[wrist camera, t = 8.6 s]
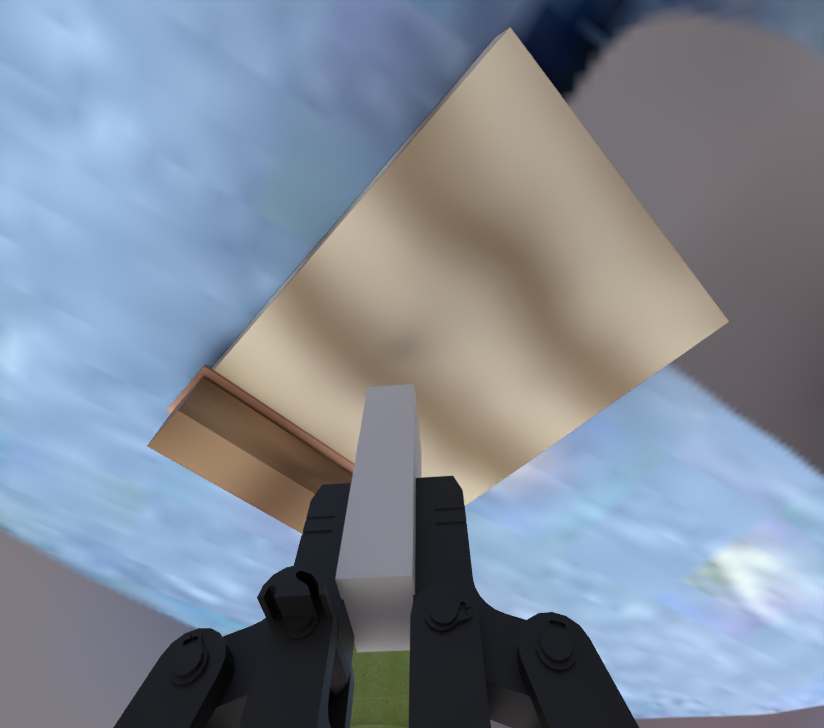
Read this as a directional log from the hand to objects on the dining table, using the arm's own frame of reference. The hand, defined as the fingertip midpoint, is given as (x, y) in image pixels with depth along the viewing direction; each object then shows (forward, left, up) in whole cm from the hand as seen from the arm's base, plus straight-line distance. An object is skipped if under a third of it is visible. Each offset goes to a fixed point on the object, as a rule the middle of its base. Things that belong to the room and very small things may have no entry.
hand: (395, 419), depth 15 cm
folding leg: (+8, +1, -4) cm, 9 cm away
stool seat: (+1, +2, -7) cm, 8 cm away
